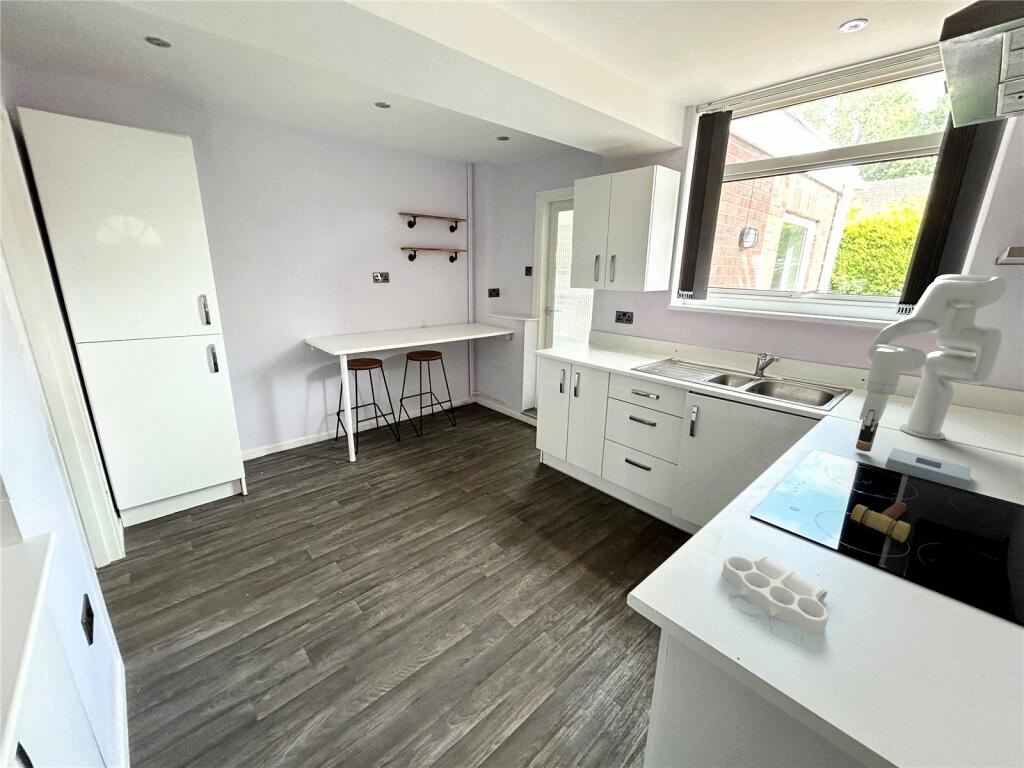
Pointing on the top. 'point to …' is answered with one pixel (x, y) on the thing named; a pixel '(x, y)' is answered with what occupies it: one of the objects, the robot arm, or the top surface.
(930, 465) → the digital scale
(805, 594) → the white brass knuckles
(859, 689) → the top surface
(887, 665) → the top surface
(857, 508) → the gavel
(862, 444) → the peg
